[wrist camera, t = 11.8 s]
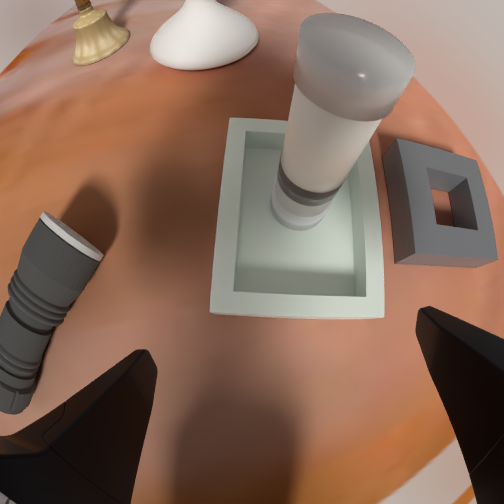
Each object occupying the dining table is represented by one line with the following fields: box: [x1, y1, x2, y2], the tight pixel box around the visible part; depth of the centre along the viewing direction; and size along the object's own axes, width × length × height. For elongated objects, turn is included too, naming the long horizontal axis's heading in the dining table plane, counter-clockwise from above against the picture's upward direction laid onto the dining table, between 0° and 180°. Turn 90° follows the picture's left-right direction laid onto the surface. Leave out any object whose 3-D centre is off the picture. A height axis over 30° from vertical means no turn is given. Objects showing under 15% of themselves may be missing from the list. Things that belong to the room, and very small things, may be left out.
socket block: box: [382, 138, 498, 268], centre depth 19 cm, size 9×9×3 cm
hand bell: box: [72, 0, 130, 66], centre depth 18 cm, size 8×8×16 cm
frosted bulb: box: [270, 13, 416, 231], centre depth 13 cm, size 4×4×13 cm
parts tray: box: [209, 118, 384, 319], centre depth 18 cm, size 13×10×3 cm
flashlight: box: [0, 211, 103, 414], centre depth 15 cm, size 15×5×5 cm, turn 149°
